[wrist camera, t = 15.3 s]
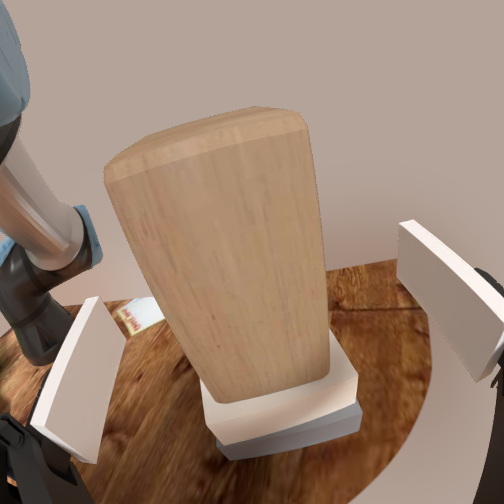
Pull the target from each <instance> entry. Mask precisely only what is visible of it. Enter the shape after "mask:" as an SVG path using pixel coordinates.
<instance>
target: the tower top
mask: <svg viewBox="0 0 504 504" xmlns="http://www.w3.org/2000/svg"><path fill="white" fill-rule="evenodd" d="M329 342H330V372H329V373H328V375H326V376H325V377H324V378H322V379H320V380H317V381H313V382H310V383H307V384H304V385H300V386H297V387H294V388H290V389H286V390H283V391H279V392H275V393H272V394H268V395H264V396H260V397H256V398H251V399H247V400H242V401H238V402H233V403H228V404H221V403H217V402H215V400H214V399H213V397H212V396H211V394H210V393H209V391H208V390H207V388H206V387H205V385H204V383H203V382H202V380H201V379H200V384H201V392H202V400H203V408H204V415H205V422H206V425H207V427H208V428H209V429H210V430H211V431H212V433H213V434H214V435H215V436H216V437H217V438H218V439H219V441H220V442H221V443H222V444H223V445H229V444H233V443H237V442H242V441H246V440H250V439H253V438H257V437H261V436H264V435H268V434H271V433H275V432H278V431H281V430H284V429H288V428H291V427H294V426H297V425H300V424H303V423H305V422H308V421H311V420H314V419H317V418H319V417H322V416H324V415H327V414H330V413H332V412H335V411H337V410H340V409H342V408H344V407H347V406H349V405H351V404H354V403H355V399H356V392H357V383H358V374H357V372H356V371H355V369H354V367H353V366H352V364H351V362H350V361H349V359H348V358H347V356H346V354H345V353H344V351H343V349H342V348H341V346H340V344H339V343H338V341H337V340H336V338H335V336H334V335H333V333H332V331H331V330H330V328H329Z"/></svg>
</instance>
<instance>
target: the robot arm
mask: <svg viewBox="0 0 504 504" xmlns="http://www.w3.org/2000/svg"><path fill="white" fill-rule="evenodd" d="M29 98H30V82H29V76H28V71H27V66H26V62H25V59H24V56H23V54H22V51H21V44H20V41H19V38H18V35H17V32H16V29H15V27H14V24H13V22H12V19H11V17H10V15H9V12H8V10H7V9H6V7H5V5H4V4H3V2H2V1H1V0H0V231H1V232H2V233H3V234H5V235H6V236H8V237H7V238H5V239H4V240H3V241H2V242H1V243H0V311H1V312H2V314H3V315H4V317H5V318H6V320H7V321H8V323H9V324H10V326H11V327H12V328H13V330H14V332H15V335H16V337H17V340H18V342H19V345H20V347H21V349H22V352H23V354H24V356H25V357H26V359H27V360H28V361H29V362H30V363H31V364H32V365H34V366H43V365H47V364H49V363H51V362H53V361H55V362H54V364H53V367H52V368H51V369H50V370H49V372H48V373H47V374H46V376H45V377H44V380H43V382H42V384H41V389H39V392H38V394H37V395H38V397H36V399H35V402H34V404H33V407H32V410H31V412H30V415H29V418H28V421H27V424H26V426H25V427H24V426H23V425H22V424H20V423H19V422H18V421H17V420H16V419H15V418H14V417H12V416H11V415H10V414H9V413H3V414H1V415H0V504H95V503H94V501H93V499H92V497H91V496H90V494H89V492H88V490H87V488H86V486H85V484H84V482H83V481H82V479H81V477H80V474H79V472H78V470H77V468H76V466H75V465H74V463H73V462H71V461H70V458H71V455H72V456H73V457H75V458H76V459H78V460H79V461H81V462H85V463H91V464H97V459H98V453H99V448H100V443H101V438H102V433H103V428H104V424H105V419H106V415H107V410H108V406H109V402H110V398H111V394H112V390H113V386H114V382H115V379H116V375H117V371H118V368H119V364H120V361H121V357H122V354H123V350H124V347H125V344H126V338H125V337H124V335H123V334H122V332H121V330H120V329H119V327H118V326H117V324H116V323H115V321H114V319H113V318H112V316H111V315H110V313H109V311H108V310H107V308H106V306H105V305H104V303H103V301H102V299H101V298H100V296H96V297H91V298H87V299H86V300H85V302H84V304H83V306H82V308H81V309H80V311H79V313H78V315H77V317H76V319H74V317H73V316H72V314H71V313H70V312H68V311H67V310H65V309H64V308H63V307H62V306H61V305H60V304H59V303H58V302H57V301H55V300H54V299H53V298H52V297H51V295H50V293H49V292H48V291H49V290H51V289H52V288H54V287H56V286H58V285H60V284H62V283H63V282H65V281H67V280H69V279H71V278H73V277H75V276H76V275H78V274H80V273H82V272H84V271H86V270H89V269H92V268H93V266H95V265H97V264H98V263H100V262H101V260H102V258H103V253H102V249H101V246H100V244H99V241H98V238H97V235H96V232H95V229H94V226H93V224H92V221H91V218H90V216H89V213H88V211H87V209H86V208H85V206H84V205H78V206H74V207H71V206H70V205H67V204H65V203H61V202H59V201H58V200H57V198H56V197H55V195H54V194H53V192H52V191H51V189H50V188H49V187H48V185H47V183H46V182H45V180H44V179H43V177H42V175H41V174H40V172H39V171H38V169H37V168H36V166H35V164H34V162H33V161H32V159H31V158H30V156H29V154H28V152H27V151H26V149H25V147H24V145H23V144H22V142H21V140H20V138H19V136H18V135H19V132H20V128H21V123H22V112H23V111H24V110H25V108H26V107H27V105H28V102H29ZM396 277H397V278H398V279H399V280H400V281H401V283H402V284H403V285H404V286H405V287H406V289H407V290H408V291H409V292H410V293H411V295H412V296H413V297H414V298H415V300H416V301H417V302H418V303H419V305H420V306H421V307H422V308H423V310H424V311H425V312H426V313H427V315H428V316H429V317H430V319H431V320H432V321H433V323H434V324H435V325H436V326H437V328H438V329H439V330H440V332H441V333H442V334H443V336H444V337H445V339H446V340H447V341H448V343H449V344H450V345H451V347H452V348H453V350H454V351H455V352H456V354H457V355H458V357H459V358H460V360H461V361H462V362H463V364H464V365H465V367H466V368H467V370H468V371H469V373H470V374H471V376H472V377H473V379H474V381H475V382H476V383H477V382H479V381H480V380H482V379H483V378H485V377H486V376H488V375H489V374H490V373H491V372H492V371H493V369H494V367H495V366H496V364H497V363H498V364H499V365H500V366H501V369H500V370H499V372H498V374H497V375H496V377H495V378H494V380H493V381H492V384H491V388H493V387H494V385H495V384H496V382H497V381H498V386H497V399H496V407H495V415H494V421H493V428H492V433H491V438H490V443H489V448H488V453H487V458H486V461H485V465H484V469H483V473H482V476H481V480H480V483H479V486H478V489H477V492H476V495H475V498H474V501H473V504H504V288H503V287H502V286H501V285H500V284H499V283H497V281H496V280H495V279H494V278H493V277H492V276H490V275H489V274H488V273H487V272H485V271H483V270H481V269H479V268H475V269H473V268H471V266H469V265H468V264H467V263H466V262H465V261H464V260H462V259H461V258H460V257H459V256H458V255H457V254H455V253H454V252H453V251H452V250H451V249H450V248H448V247H447V246H446V245H445V244H444V243H442V242H441V241H440V240H439V239H437V238H436V237H435V236H434V235H432V234H431V233H430V232H429V231H427V230H426V229H425V228H423V227H422V226H421V225H419V224H418V223H416V221H414V220H410V221H406V222H402V223H399V240H398V261H397V276H396ZM7 476H8V477H10V478H12V479H13V480H15V481H16V483H17V487H15V486H13V485H12V484H10V483H8V482H7Z"/></svg>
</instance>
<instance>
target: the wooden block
mask: <svg viewBox="0 0 504 504" xmlns="http://www.w3.org/2000/svg"><path fill="white" fill-rule="evenodd" d="M104 184H105V187H106V189H107V192H108V194H109V197H110V200H111V202H112V205H113V207H114V210H115V212H116V215H117V217H118V220H119V222H120V225H121V227H122V229H123V232H124V234H125V236H126V238H127V241H128V243H129V245H130V248H131V250H132V252H133V254H134V256H135V259H136V261H137V263H138V265H139V267H140V269H141V271H142V273H143V276H144V278H145V280H146V282H147V284H148V286H149V288H150V290H151V292H152V294H153V296H154V298H155V300H156V302H157V303H158V305H159V307H160V309H161V311H162V313H163V315H164V317H165V319H166V320H167V322H168V324H169V326H170V328H171V330H172V331H173V333H174V335H175V337H176V338H177V340H178V342H179V344H180V345H181V347H182V349H183V351H184V352H185V354H186V356H187V357H188V359H189V361H190V362H191V364H192V366H193V367H194V369H195V371H196V372H197V374H198V375H199V377H200V379H201V380H202V382H203V383H204V385H205V387H206V388H207V390H208V391H209V393H210V394H211V396H212V397H213V399H214V400H215V402H217V403H221V404H228V403H233V402H238V401H242V400H247V399H251V398H256V397H260V396H264V395H268V394H272V393H275V392H279V391H283V390H286V389H290V388H294V387H297V386H300V385H304V384H307V383H310V382H313V381H317V380H320V379H322V378H324V377H325V376H326V375H328V373H329V372H330V342H329V317H328V299H327V283H326V270H325V259H324V247H323V236H322V226H321V218H320V209H319V200H318V192H317V184H316V177H315V170H314V163H313V156H312V150H311V144H310V137H309V131H308V126H307V124H306V123H305V121H304V119H303V118H302V116H301V115H300V113H299V112H294V111H290V110H286V109H278V108H268V107H256V106H254V107H249V108H244V109H240V110H235V111H231V112H227V113H223V114H218V115H214V116H211V117H207V118H203V119H200V120H196V121H192V122H189V123H185V124H182V125H179V126H175V127H172V128H169V129H166V130H163V131H160V132H157V133H154V134H151V135H148V136H146V137H144V138H142V139H141V140H139V141H138V142H136V143H134V144H133V145H131V146H130V147H128V148H127V149H125V150H123V151H122V152H120V153H119V154H117V155H116V156H115V157H114V158H113V159H112V160H111V161H110V162H109V163H108V164H107V165H106V166H105V167H104Z"/></svg>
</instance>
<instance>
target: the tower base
mask: <svg viewBox="0 0 504 504" xmlns="http://www.w3.org/2000/svg"><path fill="white" fill-rule="evenodd" d="M362 414H363V413H362V410H361V408H360V405H359V403H358V400H357V398H356V399H355V403H354V404H351V405H349V406H347V407H344V408H342V409H340V410H337V411H335V412H332V413H330V414H327V415H324V416H322V417H319V418H317V419H314V420H311V421H308V422H305V423H303V424H300V425H297V426H294V427H291V428H288V429H284V430H281V431H278V432H275V433H271V434H268V435H264V436H261V437H257V438H253V439H250V440H246V441H242V442H237V443H233V444H229V445H223V444H222V443H221V442H220V441H219V439H218V438H217V437H216V447H217V448H218V449H219V450H220V451H221V452H222V453H223V454H224V455H225V456H226V457H227V458H228V459H229V460H230V461H232V460H240V459H247V458H253V457H259V456H265V455H270V454H275V453H280V452H285V451H290V450H294V449H298V448H302V447H306V446H310V445H314V444H318V443H321V442H325V441H328V440H332V439H335V438H338V437H342V436H345V435H348V434H351V433H354V432H357V431H359V428H360V423H361V419H362Z"/></svg>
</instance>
